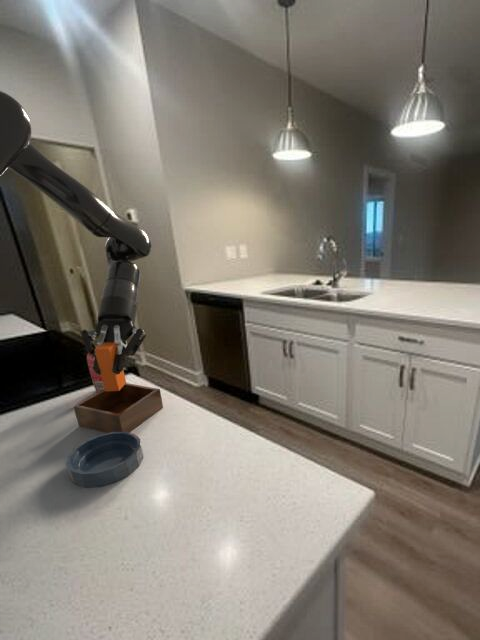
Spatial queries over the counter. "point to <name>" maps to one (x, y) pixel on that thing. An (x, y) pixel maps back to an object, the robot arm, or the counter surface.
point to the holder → (119, 408)
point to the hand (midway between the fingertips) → (107, 373)
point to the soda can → (95, 374)
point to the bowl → (105, 459)
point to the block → (109, 367)
